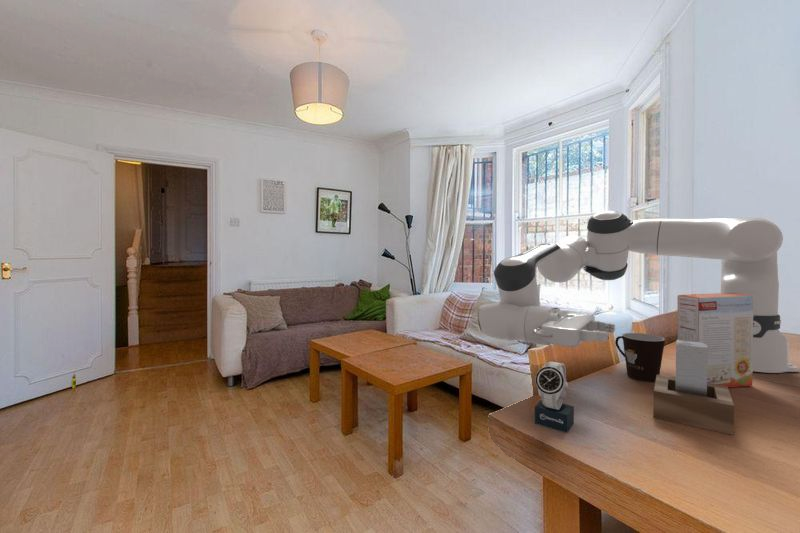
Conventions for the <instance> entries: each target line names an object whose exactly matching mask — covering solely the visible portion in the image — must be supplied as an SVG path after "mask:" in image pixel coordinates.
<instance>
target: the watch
mask: <svg viewBox="0 0 800 533" xmlns="http://www.w3.org/2000/svg"><path fill="white" fill-rule="evenodd" d="M567 381H568V380H567V370H566V365H565V364H564V363H563V362H562V363H561V362H557V361H556V362H555V361H552V360H551V361H548V362H546V363H544V365H542V367H541V368H540V369H539V370H538V371H537V372H536V374H535V378H534V383H535V386H536V388H537V392H538V395H539V397H540V398H541V400H540V401H538V402H537V404H535V405H534V424H536V425H539V426H543V427H546V428H549V429H553V430H557V431H559V432H563V433H567V434H568V433H569V431H570V429H571V428H572V426H573V425H574V421H575V417H574V416H575V412H574V411H575V406H574V405H570V404H566V403H563V401H565V398H566V394H567V392H566V391H567V388H568V387H569V382H567Z"/></svg>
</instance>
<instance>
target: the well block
mask: <svg viewBox="0 0 800 533" xmlns="http://www.w3.org/2000/svg"><path fill="white" fill-rule="evenodd" d="M675 382H676V376H675V377H674V376H669V375H668V376H666V375H660V374H659V375H657V376H656V381H655V382H654V387H653V402H652V403H653V404H652V406H653V407H652V408H653V409H652V410H653V412H652V413H653V414H652V416H653V418H655V419H660V420H664V421H669V422H672V423H673V422H675V423H677V424H681V425H685V426H691V427H696V428H700V429H703V430H704V429H705V430H709V431H714V432H718V433H722V434H726V435H731V436H734V434H735V433H734V431H735V430H734V426H735V423H734V422H735V404H734V401H733V399H732V395H731V392H730V390H729V387H728V386H724V385H717V384H711V383H707V397H703V396H698V395H692V394H687V393H681V392H676V391H675Z"/></svg>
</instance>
